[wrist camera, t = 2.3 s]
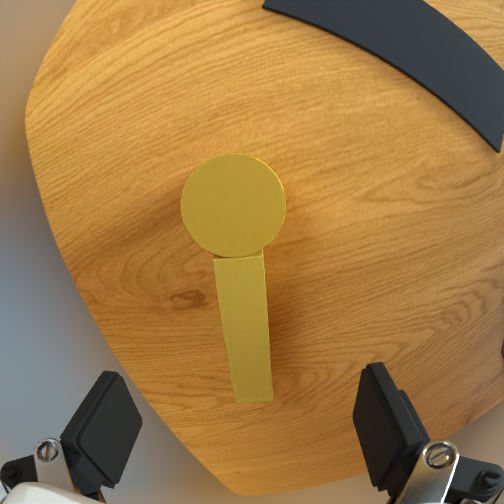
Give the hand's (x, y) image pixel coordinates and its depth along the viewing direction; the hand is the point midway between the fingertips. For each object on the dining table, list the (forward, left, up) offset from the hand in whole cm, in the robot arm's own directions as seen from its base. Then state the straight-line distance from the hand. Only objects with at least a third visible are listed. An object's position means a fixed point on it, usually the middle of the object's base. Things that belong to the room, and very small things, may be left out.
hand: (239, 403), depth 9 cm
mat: (+16, +20, -12) cm, 28 cm away
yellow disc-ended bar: (0, 0, -12) cm, 12 cm away
